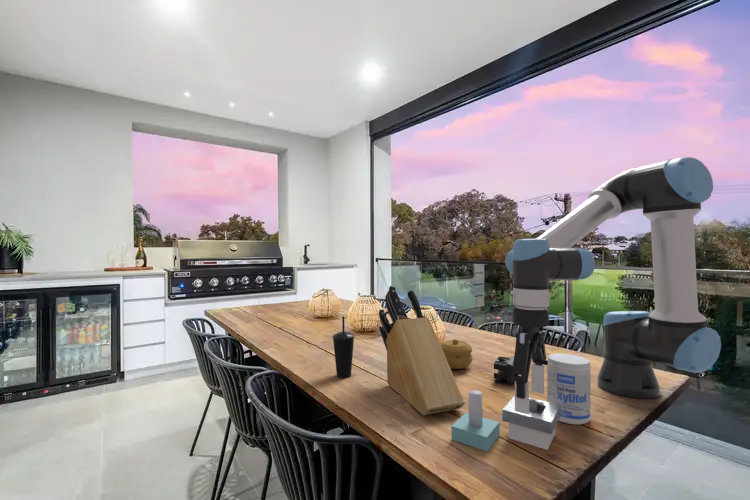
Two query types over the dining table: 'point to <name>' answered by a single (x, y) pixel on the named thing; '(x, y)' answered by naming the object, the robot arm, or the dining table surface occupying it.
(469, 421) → the teal peg base
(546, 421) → the square block with hole
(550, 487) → the dining table surface
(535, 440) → the stand
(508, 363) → the end cap
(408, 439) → the dining table surface
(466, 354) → the pot
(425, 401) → the knife block
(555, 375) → the supplement tub
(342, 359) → the drinking cup
